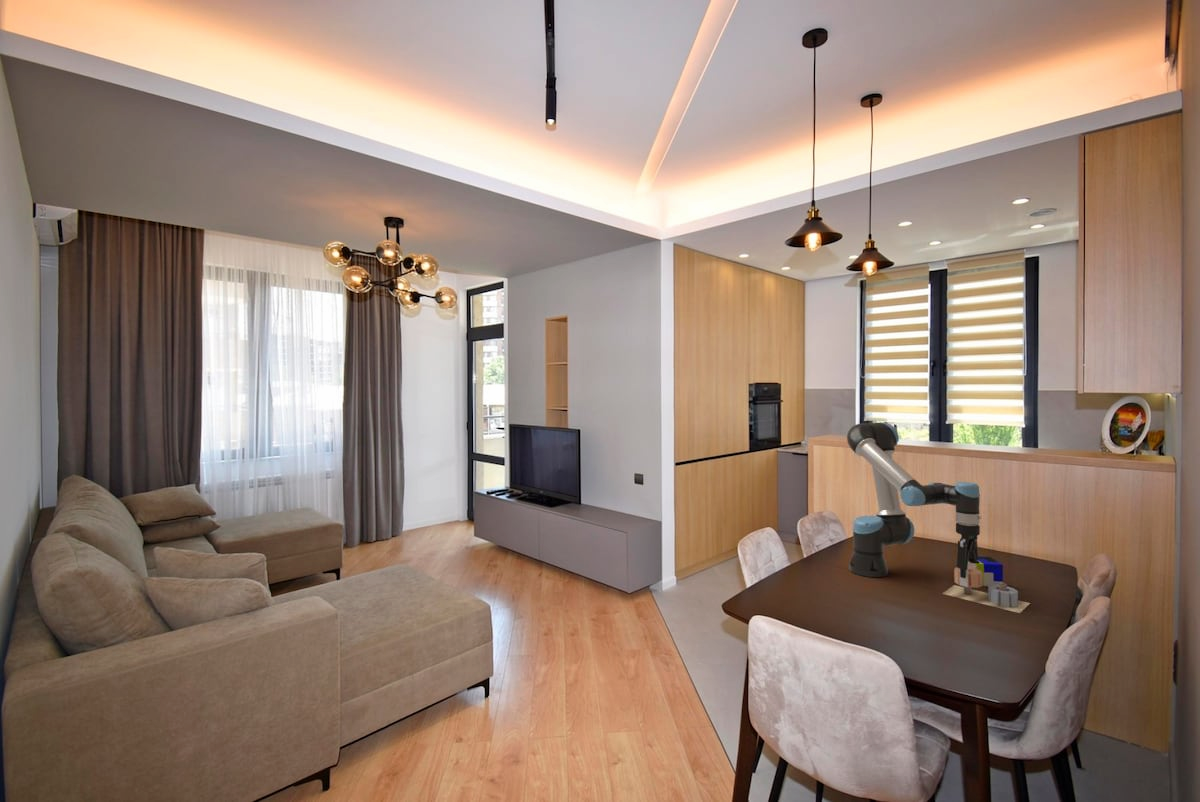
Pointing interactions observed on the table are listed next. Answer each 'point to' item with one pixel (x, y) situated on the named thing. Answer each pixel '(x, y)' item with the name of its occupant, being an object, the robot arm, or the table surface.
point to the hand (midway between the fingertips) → (968, 582)
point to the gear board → (982, 596)
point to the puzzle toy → (990, 571)
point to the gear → (1003, 596)
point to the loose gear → (970, 577)
